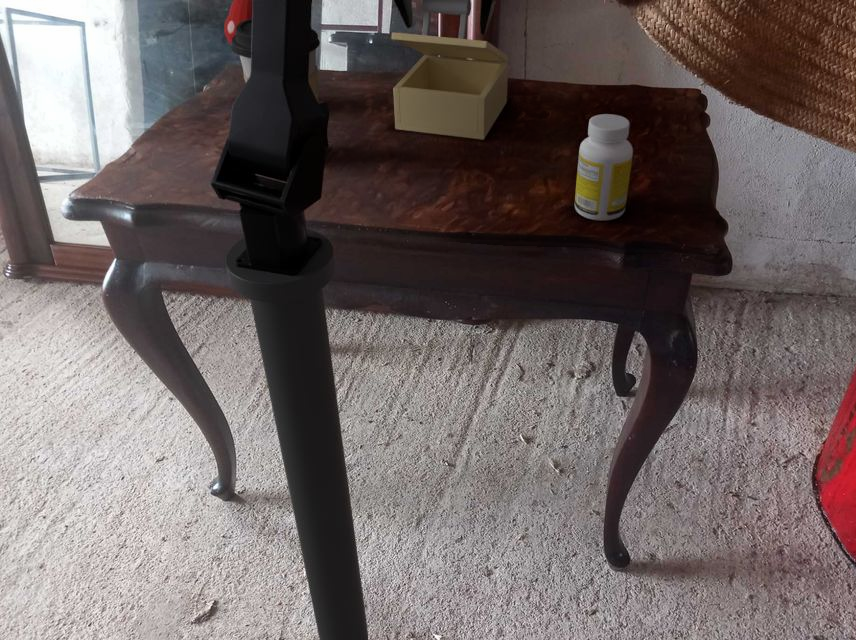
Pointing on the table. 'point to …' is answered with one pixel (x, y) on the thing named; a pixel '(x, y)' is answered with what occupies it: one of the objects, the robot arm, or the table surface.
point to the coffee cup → (243, 48)
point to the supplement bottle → (604, 168)
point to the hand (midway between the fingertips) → (446, 30)
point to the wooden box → (451, 96)
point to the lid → (453, 3)
